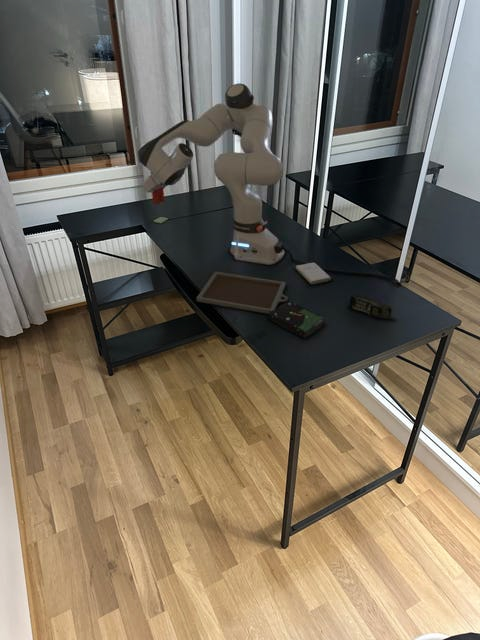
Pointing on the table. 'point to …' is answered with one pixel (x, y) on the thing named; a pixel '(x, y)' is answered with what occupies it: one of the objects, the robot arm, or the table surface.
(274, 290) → the brown grey flat panel
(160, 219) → the tile
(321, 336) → the table surface
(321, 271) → the hard drive
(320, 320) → the disk drive
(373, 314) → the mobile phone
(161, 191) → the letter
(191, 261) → the table surface
